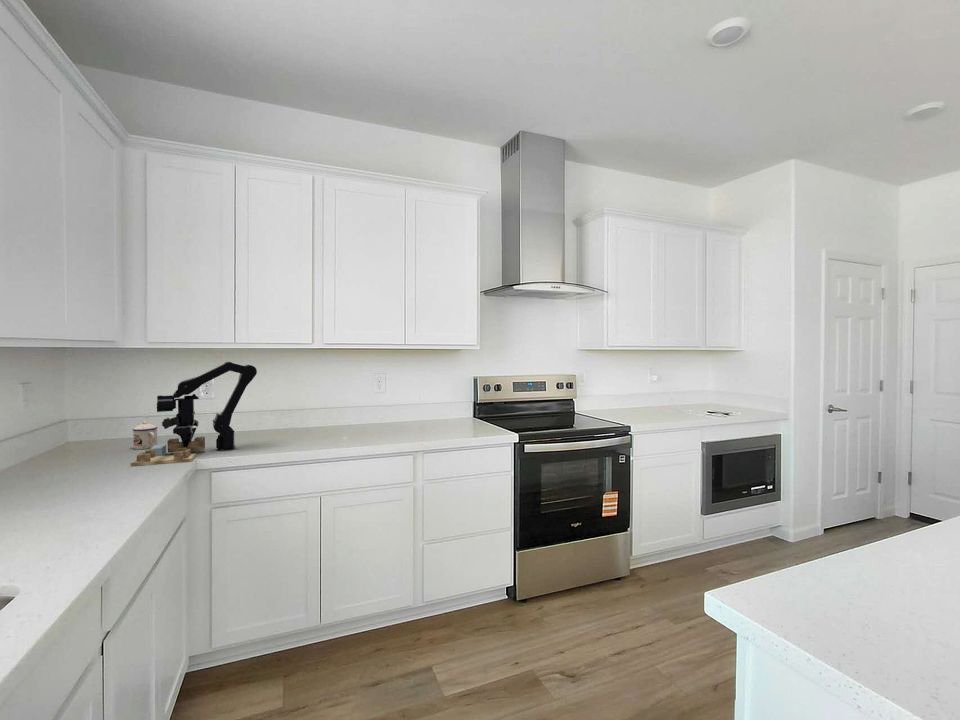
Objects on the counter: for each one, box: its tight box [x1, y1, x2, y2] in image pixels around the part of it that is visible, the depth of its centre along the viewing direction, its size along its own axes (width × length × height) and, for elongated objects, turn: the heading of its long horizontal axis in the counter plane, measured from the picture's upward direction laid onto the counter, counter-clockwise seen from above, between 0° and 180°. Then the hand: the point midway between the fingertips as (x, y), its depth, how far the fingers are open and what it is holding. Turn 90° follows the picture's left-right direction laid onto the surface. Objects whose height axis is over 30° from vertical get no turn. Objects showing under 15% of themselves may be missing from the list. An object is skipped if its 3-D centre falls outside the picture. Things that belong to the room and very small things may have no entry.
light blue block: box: [149, 444, 168, 456], centre depth 194 cm, size 4×8×4 cm, turn 22°
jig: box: [129, 448, 197, 467], centre depth 185 cm, size 20×9×4 cm, turn 112°
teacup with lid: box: [132, 420, 158, 450], centre depth 208 cm, size 12×9×12 cm
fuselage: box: [166, 436, 206, 454], centre depth 198 cm, size 13×4×5 cm, turn 112°
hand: (186, 446), depth 198 cm, fingers closed on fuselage, 4 cm apart
